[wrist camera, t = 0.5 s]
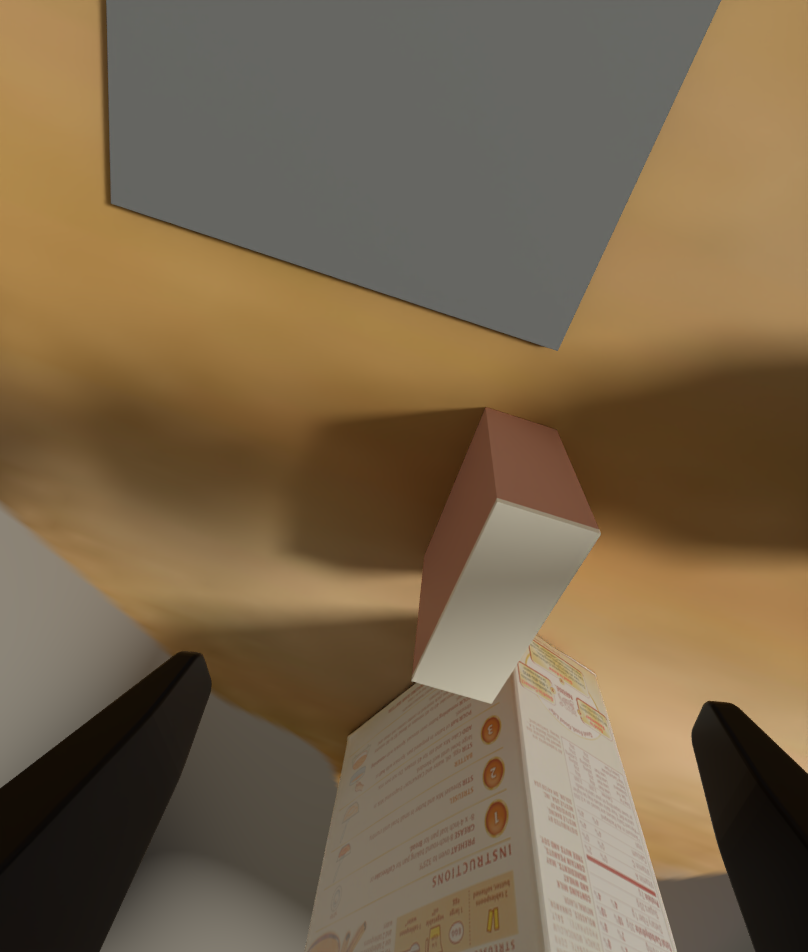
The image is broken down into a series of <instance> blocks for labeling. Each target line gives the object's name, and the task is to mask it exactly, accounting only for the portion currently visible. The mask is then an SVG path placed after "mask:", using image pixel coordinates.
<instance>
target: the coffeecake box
mask: <svg viewBox="0 0 808 952" xmlns="http://www.w3.org/2000/svg"><path fill="white" fill-rule="evenodd" d="M305 952H677V950H676V946H675V942H674V939H673V936H672V932H671V929H670V925H669V922H668V918H667V915H666V911H665V908H664V905H663V902H662V898H661V894H660V891H659V887H658V884H657V880H656V877H655V874H654V870H653V867H652V864H651V860H650V857H649V853H648V850H647V846H646V843H645V839H644V836H643V832H642V829H641V826H640V822H639V819H638V816H637V812H636V809H635V806H634V802H633V799H632V795H631V792H630V789H629V785H628V782H627V778H626V775H625V771H624V768H623V765H622V762H621V758H620V755H619V752H618V748H617V745H616V741H615V738H614V734H613V731H612V727H611V724H610V720H609V717H608V714H607V710H606V707H605V704H604V701H603V697H602V694H601V691H600V687H599V684H598V681H597V676H596V674H595V673H593V672H592V671H591V670H589V669H588V668H586V667H585V666H583V665H582V664H580V663H578V662H577V661H575V660H574V659H572V658H571V657H569V656H568V655H566V654H564V653H562V652H560V651H558V650H556V649H555V648H554V647H552V646H551V645H549V644H548V643H546V642H545V641H544V640H542V639H541V638H540V637H538V636H537V635H536V636H535V637H534V639H533V640H532V642H531V643H530V645H529V647H528V648H527V650H526V651H525V653H524V654H523V656H522V657H521V659H520V661H519V662H518V664H517V665H516V667H515V668H514V670H513V671H512V673H511V675H510V676H509V678H508V679H507V681H506V682H505V684H504V685H503V687H502V688H501V690H500V692H499V693H498V695H497V696H496V698H495V699H494V701H493V702H492V704H490V703H487V702H483V701H480V700H476V699H473V698H469V697H466V696H462V695H459V694H455V693H452V692H448V691H444V690H441V689H437V688H434V687H430V686H427V685H423V684H420V683H416V684H414V685H413V686H412V687H410V688H409V689H408V690H407V691H405V692H404V693H403V694H401V695H400V696H399V697H397V698H396V699H395V700H394V701H392V702H391V703H390V704H389V705H387V706H386V707H385V708H384V709H382V710H381V711H380V712H379V713H377V714H376V715H375V716H373V717H372V718H371V719H369V720H368V721H367V722H366V723H364V724H363V725H362V726H361V727H359V728H358V729H357V730H355V731H354V732H353V733H352V734H350V735H349V736H348V737H347V745H346V751H345V756H344V761H343V766H342V771H341V776H340V781H339V786H338V791H337V796H336V801H335V805H334V810H333V815H332V820H331V825H330V829H329V834H328V839H327V844H326V849H325V854H324V859H323V864H322V869H321V873H320V878H319V884H318V888H317V893H316V898H315V903H314V908H313V913H312V918H311V923H310V927H309V932H308V937H307V942H306V947H305Z"/></svg>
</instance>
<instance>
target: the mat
mask: <svg viewBox="0 0 808 952" xmlns="http://www.w3.org/2000/svg"><path fill="white" fill-rule="evenodd" d="M720 2H721V0H106V5H107V49H108V93H109V137H110V181H111V204H114V205H117V206H120V207H123V208H126V209H129V210H132V211H135V212H138V213H141V214H144V215H147V216H150V217H153V218H156V219H159V220H162V221H165V222H169V223H172V224H175V225H178V226H181V227H184V228H187V229H190V230H193V231H196V232H199V233H202V234H205V235H208V236H211V237H214V238H217V239H220V240H223V241H226V242H229V243H232V244H235V245H238V246H241V247H244V248H247V249H250V250H253V251H256V252H259V253H262V254H265V255H269V256H272V257H275V258H278V259H281V260H284V261H287V262H290V263H293V264H296V265H299V266H302V267H305V268H308V269H311V270H314V271H317V272H320V273H323V274H326V275H329V276H332V277H335V278H338V279H341V280H344V281H347V282H350V283H353V284H356V285H359V286H362V287H365V288H369V289H372V290H375V291H378V292H381V293H384V294H387V295H390V296H393V297H396V298H399V299H402V300H405V301H408V302H411V303H414V304H417V305H420V306H423V307H426V308H429V309H432V310H435V311H438V312H441V313H444V314H447V315H450V316H453V317H456V318H459V319H462V320H465V321H469V322H472V323H475V324H478V325H481V326H484V327H487V328H490V329H493V330H496V331H499V332H502V333H505V334H508V335H511V336H514V337H517V338H520V339H523V340H526V341H529V342H532V343H535V344H538V345H541V346H544V347H547V348H550V349H553V350H556V351H558V349H559V347H560V345H561V343H562V341H563V338H564V336H565V334H566V332H567V330H568V328H569V326H570V323H571V321H572V319H573V317H574V315H575V313H576V311H577V308H578V306H579V304H580V302H581V300H582V298H583V296H584V293H585V291H586V289H587V287H588V285H589V283H590V281H591V278H592V276H593V274H594V272H595V270H596V268H597V265H598V263H599V261H600V259H601V257H602V255H603V253H604V250H605V248H606V246H607V244H608V242H609V240H610V238H611V235H612V233H613V231H614V229H615V227H616V225H617V223H618V220H619V218H620V216H621V214H622V212H623V210H624V208H625V205H626V203H627V201H628V199H629V197H630V195H631V193H632V190H633V188H634V186H635V184H636V182H637V180H638V178H639V175H640V173H641V171H642V169H643V167H644V165H645V162H646V160H647V158H648V156H649V154H650V152H651V150H652V147H653V145H654V143H655V141H656V139H657V137H658V135H659V132H660V130H661V128H662V126H663V124H664V122H665V120H666V117H667V115H668V113H669V111H670V109H671V107H672V105H673V102H674V100H675V98H676V96H677V94H678V92H679V90H680V87H681V85H682V83H683V81H684V79H685V77H686V75H687V72H688V70H689V68H690V66H691V64H692V62H693V59H694V57H695V55H696V53H697V51H698V49H699V47H700V44H701V42H702V40H703V38H704V36H705V34H706V32H707V29H708V27H709V25H710V23H711V21H712V19H713V17H714V14H715V12H716V10H717V8H718V6H719V4H720Z"/></svg>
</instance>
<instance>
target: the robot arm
mask: <svg viewBox="0 0 808 952" xmlns="http://www.w3.org/2000/svg"><path fill="white" fill-rule="evenodd" d="M211 686H212V683H211V677H210V674H209V671H208V668H207V665H206V662H205V659H204V657H203V655H202V654H201V653H198V652H188V651H181V652H179V653H177V654H175V655H174V656H172V657H171V658H170V659H169V660H167V661H166V662H165V663H163V664H162V665H161V666H159V667H158V668H157V669H156V670H154V671H153V672H152V673H151V674H149V675H148V676H147V677H145V678H144V679H142V680H141V681H140V682H139V683H137V684H136V685H135V686H133V687H132V688H131V689H129V690H128V691H127V692H125V693H124V694H123V695H122V696H120V697H119V698H118V699H116V700H115V701H114V702H113V703H111V704H110V705H109V706H107V707H106V708H105V709H103V710H102V711H101V712H99V713H98V714H97V715H95V716H94V717H93V718H92V719H90V720H89V721H88V722H87V723H85V724H84V725H83V726H81V727H80V728H79V729H77V730H76V731H75V732H73V733H72V734H71V735H69V736H68V737H67V738H65V739H64V740H63V741H62V742H60V743H59V744H58V745H56V746H55V747H54V748H52V749H51V750H50V751H48V752H47V753H46V754H45V755H43V756H42V757H41V758H39V759H38V760H37V761H36V762H34V763H33V764H31V765H30V766H29V767H28V768H27V769H25V770H24V771H22V772H21V773H20V774H19V775H18V776H16V777H15V778H13V779H12V780H11V781H9V782H8V783H7V784H5V785H4V786H3V787H1V788H0V952H100V949H101V947H102V945H103V943H104V941H105V939H106V936H107V934H108V932H109V930H110V928H111V926H112V924H113V921H114V919H115V917H116V915H117V912H118V911H119V908H120V906H121V904H122V902H123V900H124V898H125V895H126V893H127V891H128V889H129V887H130V885H131V883H132V880H133V878H134V876H135V874H136V872H137V870H138V867H139V865H140V863H141V861H142V858H143V856H144V855H145V852H146V850H147V848H148V846H149V844H150V842H151V839H152V837H153V835H154V833H155V831H156V829H157V826H158V824H159V822H160V820H161V818H162V816H163V814H164V811H165V809H166V807H167V805H168V803H169V801H170V798H171V796H172V794H173V792H174V790H175V787H176V785H177V783H178V781H179V778H180V776H181V773H182V771H183V768H184V766H185V763H186V760H187V757H188V755H189V752H190V749H191V746H192V743H193V740H194V738H195V734H196V732H197V729H198V726H199V723H200V721H201V718H202V715H203V712H204V709H205V706H206V704H207V701H208V698H209V695H210V692H211ZM692 745H693V749H694V753H695V757H696V761H697V765H698V769H699V773H700V777H701V781H702V785H703V789H704V793H705V797H706V801H707V805H708V809H709V813H710V817H711V821H712V825H713V829H714V833H715V836H716V840H717V844H718V847H719V850H720V853H721V856H722V859H723V862H724V865H725V868H726V871H727V873H728V876H729V879H730V882H731V885H732V888H733V890H734V893H735V896H736V899H737V902H738V905H739V907H740V910H741V913H742V916H743V918H744V922H745V924H746V927H747V930H748V933H749V936H750V938H751V941H752V944H753V947H754V950H755V952H808V773H806V772H805V771H804V770H803V769H802V768H801V767H800V766H799V765H798V764H797V763H796V762H795V761H794V760H793V759H792V758H791V757H790V756H789V755H788V754H787V753H786V752H785V751H783V750H782V749H781V748H780V747H779V746H778V745H777V744H776V743H775V742H774V741H773V740H772V739H771V738H770V737H769V736H768V735H767V734H766V733H765V732H764V731H763V730H762V729H760V728H759V727H758V726H757V725H756V724H755V723H754V722H753V721H752V720H751V719H750V718H749V717H748V716H747V715H746V714H745V713H744V712H743V711H742V710H741V709H740V708H738V707H737V706H735V705H734V704H732V703H727V702H717V701H708V702H706V703H704V705H703V707H702V709H701V711H700V713H699V715H698V718H697V720H696V722H695V724H694V726H693V729H692Z"/></svg>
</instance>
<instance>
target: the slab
mask: <svg viewBox="0 0 808 952" xmlns="http://www.w3.org/2000/svg"><path fill="white" fill-rule="evenodd" d="M600 535H601V532H600V530H599V528H598V525H597V523H596V521H595V518H594V516H593V514H592V511H591V509H590V507H589V504H588V502H587V500H586V497H585V495H584V493H583V490H582V488H581V485H580V483H579V481H578V478H577V476H576V474H575V471H574V469H573V467H572V464H571V462H570V460H569V457H568V455H567V453H566V450H565V448H564V446H563V443H562V441H561V439H560V436H559V434H558V432H557V430H556V429H553V428H550V427H547V426H544V425H541V424H537V423H534V422H531V421H528V420H525V419H522V418H519V417H516V416H512V415H509V414H506V413H503V412H500V411H497V410H494V409H491V408H487V407H485V410H484V412H483V415H482V417H481V419H480V422H479V424H478V427H477V429H476V432H475V434H474V436H473V439H472V441H471V444H470V446H469V449H468V451H467V453H466V456H465V458H464V461H463V463H462V466H461V468H460V470H459V473H458V475H457V478H456V480H455V483H454V485H453V487H452V490H451V492H450V495H449V497H448V500H447V502H446V504H445V507H444V509H443V512H442V514H441V517H440V519H439V521H438V524H437V526H436V529H435V531H434V534H433V536H432V538H431V541H430V543H429V546H428V548H427V551H426V553H425V555H424V564H423V574H422V583H421V593H420V603H419V612H418V622H417V632H416V641H415V651H414V661H413V671H412V680H411V681H413V682H416V683H420V684H423V685H427V686H430V687H434V688H437V689H441V690H444V691H448V692H452V693H455V694H459V695H462V696H466V697H469V698H473V699H476V700H480V701H483V702H487V703H490V704H492V702H493V701H494V699H495V698H496V696H497V695H498V693H499V692H500V690H501V688H502V687H503V685H504V684H505V682H506V681H507V679H508V678H509V676H510V675H511V673H512V671H513V670H514V668H515V667H516V665H517V664H518V662H519V661H520V659H521V657H522V656H523V654H524V653H525V651H526V650H527V648H528V647H529V645H530V643H531V642H532V640H533V639H534V637H535V636H536V634H537V633H538V631H539V630H540V628H541V626H542V625H543V623H544V622H545V620H546V619H547V617H548V616H549V614H550V612H551V611H552V609H553V608H554V606H555V605H556V603H557V602H558V600H559V598H560V597H561V595H562V594H563V592H564V591H565V589H566V588H567V586H568V585H569V583H570V581H571V580H572V578H573V577H574V575H575V574H576V572H577V571H578V569H579V567H580V566H581V564H582V563H583V561H584V560H585V558H586V557H587V555H588V553H589V552H590V550H591V549H592V547H593V546H594V544H595V543H596V541H597V539H598V538H599V536H600Z"/></svg>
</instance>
